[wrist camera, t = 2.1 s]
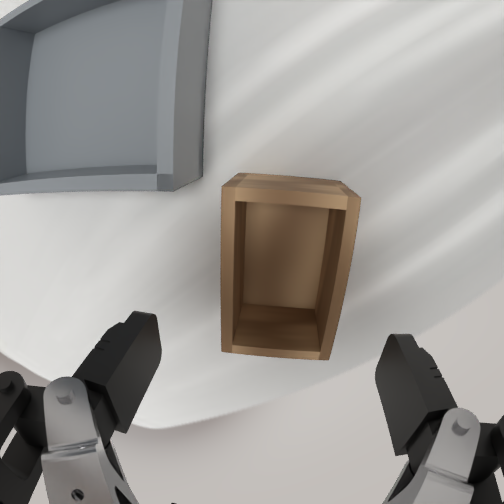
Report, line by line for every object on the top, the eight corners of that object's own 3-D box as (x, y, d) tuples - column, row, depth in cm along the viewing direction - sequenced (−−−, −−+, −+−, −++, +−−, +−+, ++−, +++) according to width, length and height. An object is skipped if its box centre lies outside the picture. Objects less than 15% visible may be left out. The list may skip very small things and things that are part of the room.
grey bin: (214, -21, 12) (193, -59, 8) (202, 176, 17) (173, 191, 13) (36, 30, 13) (-4, 22, 9) (28, 181, 19) (-15, 196, 14)
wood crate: (340, 181, 17) (361, 197, 12) (321, 312, 20) (328, 360, 15) (238, 172, 17) (221, 186, 12) (235, 305, 20) (221, 351, 16)
